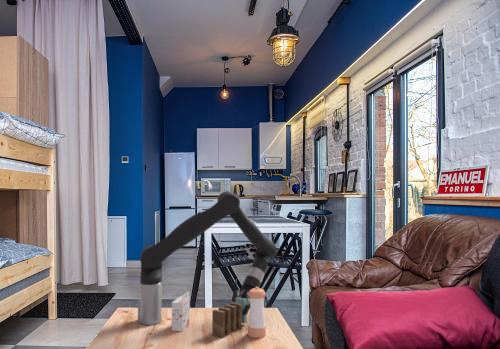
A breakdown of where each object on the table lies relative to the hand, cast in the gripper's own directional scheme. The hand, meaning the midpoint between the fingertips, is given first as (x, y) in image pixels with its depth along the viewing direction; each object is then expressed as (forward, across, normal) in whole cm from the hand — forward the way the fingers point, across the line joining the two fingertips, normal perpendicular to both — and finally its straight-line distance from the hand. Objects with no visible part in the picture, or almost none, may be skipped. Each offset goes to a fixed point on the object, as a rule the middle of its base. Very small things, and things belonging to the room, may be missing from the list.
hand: (238, 313), depth 165 cm
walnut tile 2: (+5, 0, +2) cm, 6 cm away
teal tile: (+2, 0, +4) cm, 5 cm away
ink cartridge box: (+15, -19, -7) cm, 25 cm away
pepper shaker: (+7, +12, +1) cm, 14 cm away
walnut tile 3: (+8, 0, -1) cm, 8 cm away
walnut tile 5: (+14, 0, -6) cm, 15 cm away
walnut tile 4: (+11, 0, -4) cm, 12 cm away
